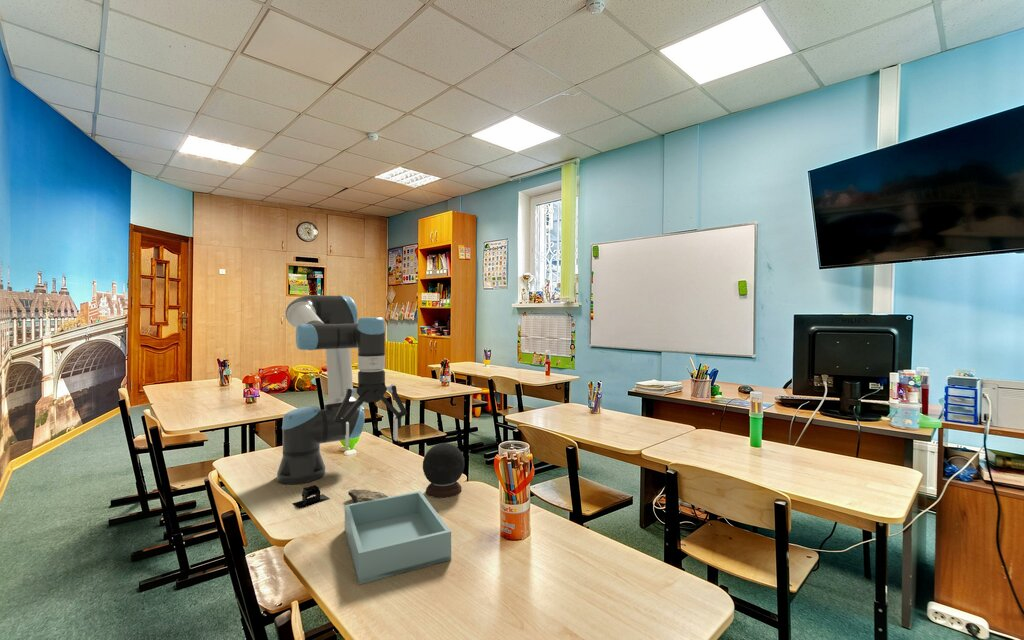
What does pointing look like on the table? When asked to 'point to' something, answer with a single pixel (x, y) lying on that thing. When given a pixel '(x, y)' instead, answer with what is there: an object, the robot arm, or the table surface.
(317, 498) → the build plate
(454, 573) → the table surface
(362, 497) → the rock
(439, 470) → the black globe on stand
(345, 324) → the robot arm
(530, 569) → the table surface
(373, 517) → the storage tub
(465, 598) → the table surface
